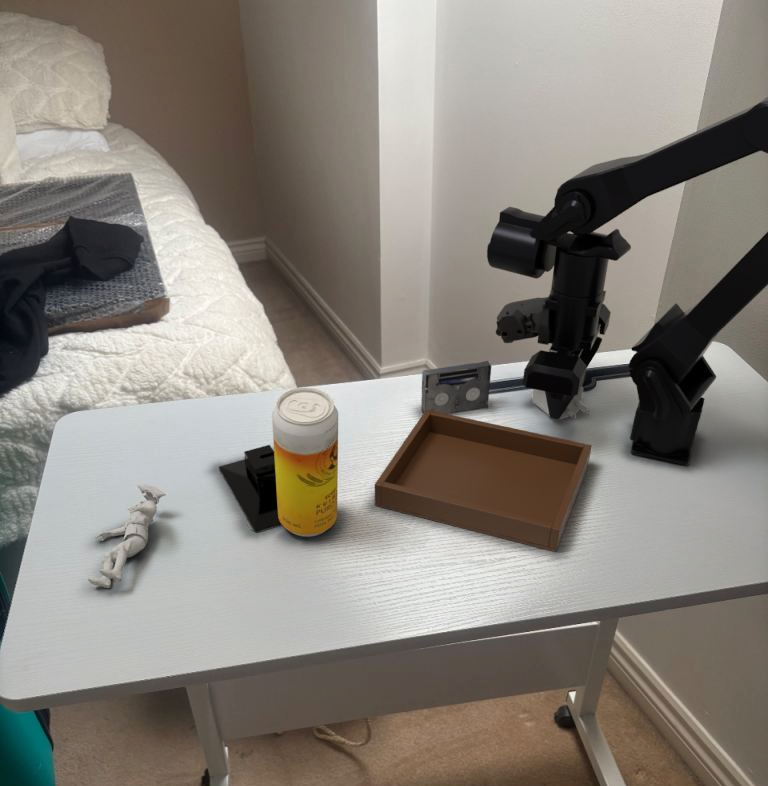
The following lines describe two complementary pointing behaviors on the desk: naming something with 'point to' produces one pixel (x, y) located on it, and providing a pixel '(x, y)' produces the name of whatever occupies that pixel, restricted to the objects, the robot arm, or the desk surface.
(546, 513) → the tray
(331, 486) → the beer can
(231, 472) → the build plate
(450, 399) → the mini dv tape
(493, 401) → the desk surface
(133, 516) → the soldier figure
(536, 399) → the usb wall charger
